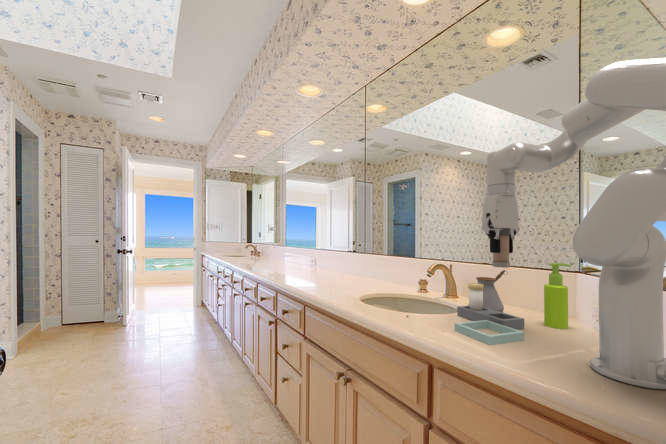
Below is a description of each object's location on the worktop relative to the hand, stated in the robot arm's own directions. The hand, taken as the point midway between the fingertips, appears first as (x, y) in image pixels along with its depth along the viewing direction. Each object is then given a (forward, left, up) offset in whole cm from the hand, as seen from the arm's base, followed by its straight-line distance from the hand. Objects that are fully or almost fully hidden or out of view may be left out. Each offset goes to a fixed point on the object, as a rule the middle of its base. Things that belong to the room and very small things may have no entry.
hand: (501, 252), depth 92 cm
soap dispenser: (-4, -18, -23) cm, 30 cm away
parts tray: (-4, +10, -23) cm, 26 cm away
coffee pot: (+18, -16, -23) cm, 33 cm away
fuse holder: (+6, -1, -23) cm, 24 cm away
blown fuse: (0, 0, -4) cm, 4 cm away
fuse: (+11, -1, -22) cm, 24 cm away
